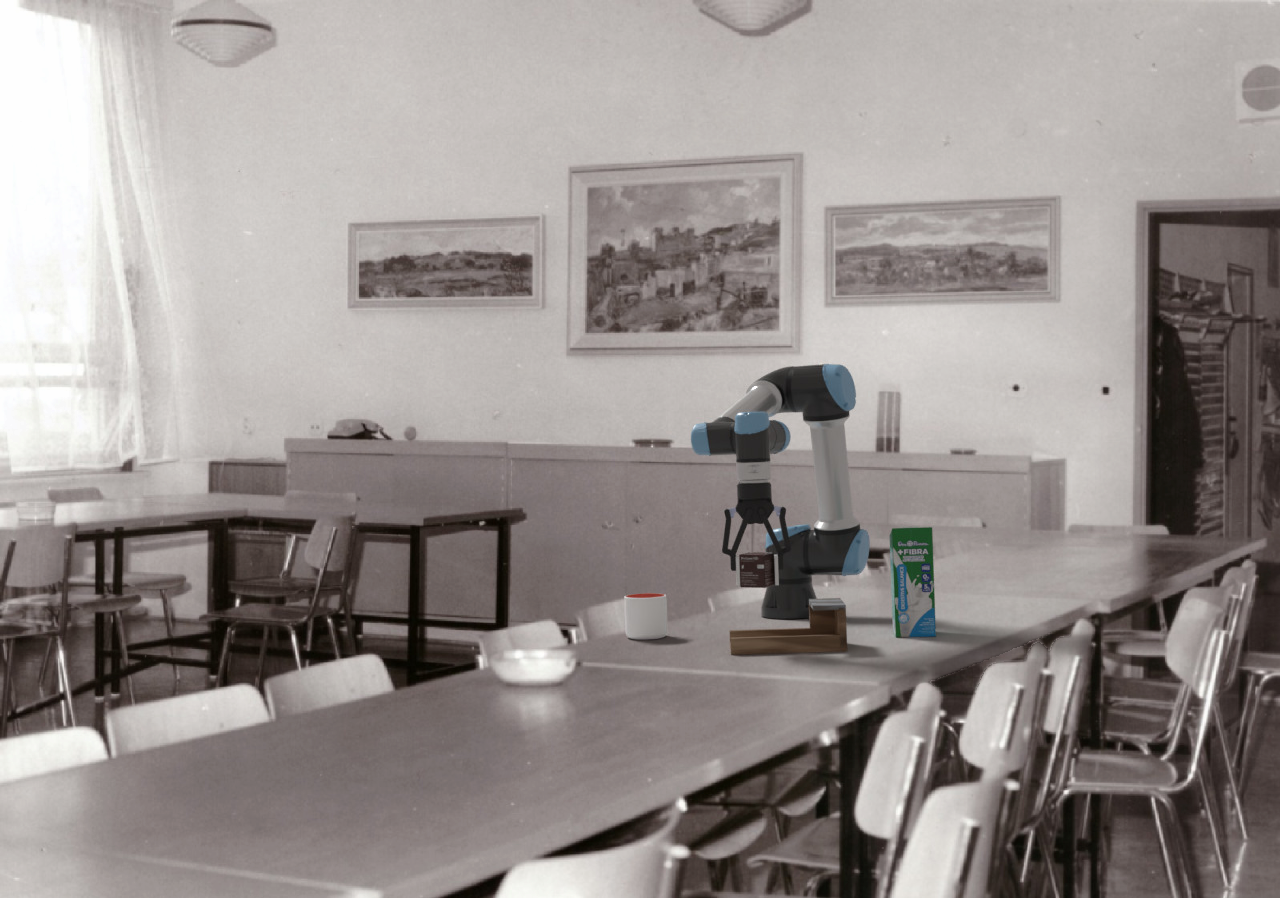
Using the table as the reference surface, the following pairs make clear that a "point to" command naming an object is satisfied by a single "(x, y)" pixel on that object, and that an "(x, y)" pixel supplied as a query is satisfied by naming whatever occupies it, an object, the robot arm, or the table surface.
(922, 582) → the milk carton
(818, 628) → the channel
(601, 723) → the table surface
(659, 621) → the cup
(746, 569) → the box
